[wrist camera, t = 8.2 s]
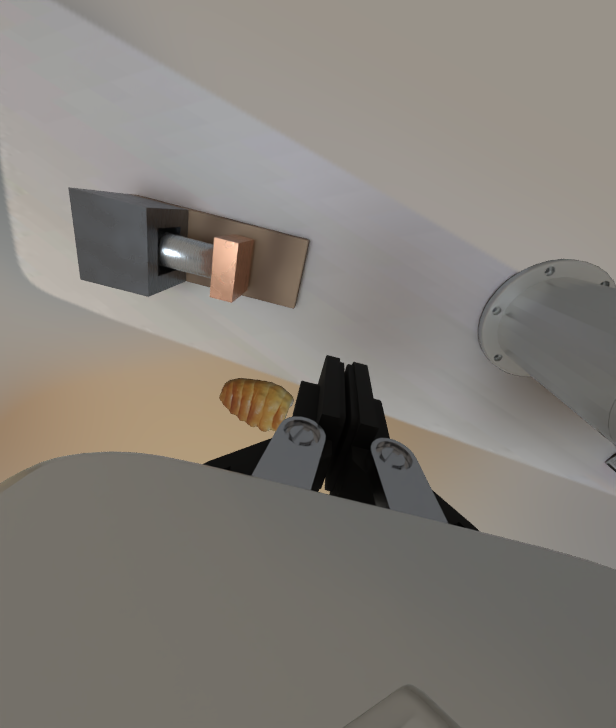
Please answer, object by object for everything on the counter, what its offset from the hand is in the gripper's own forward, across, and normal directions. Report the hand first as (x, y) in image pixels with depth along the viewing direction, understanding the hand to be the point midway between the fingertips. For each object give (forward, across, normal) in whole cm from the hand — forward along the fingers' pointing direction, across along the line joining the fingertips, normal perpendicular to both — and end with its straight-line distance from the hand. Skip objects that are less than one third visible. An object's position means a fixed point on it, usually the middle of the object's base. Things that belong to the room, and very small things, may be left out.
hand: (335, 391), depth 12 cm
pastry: (+23, +6, +18) cm, 29 cm away
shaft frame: (+22, +14, 0) cm, 26 cm away
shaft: (+20, +15, 0) cm, 25 cm away
